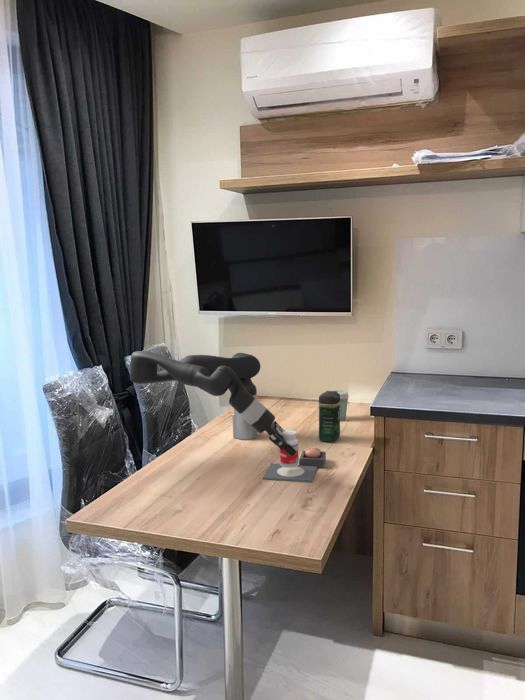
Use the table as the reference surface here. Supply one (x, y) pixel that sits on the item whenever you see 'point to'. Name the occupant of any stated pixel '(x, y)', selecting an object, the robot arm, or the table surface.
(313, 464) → the button housing
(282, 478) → the grey rectangular pad
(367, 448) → the table surface
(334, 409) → the coffee jar
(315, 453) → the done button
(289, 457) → the pill bottle
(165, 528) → the table surface
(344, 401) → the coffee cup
